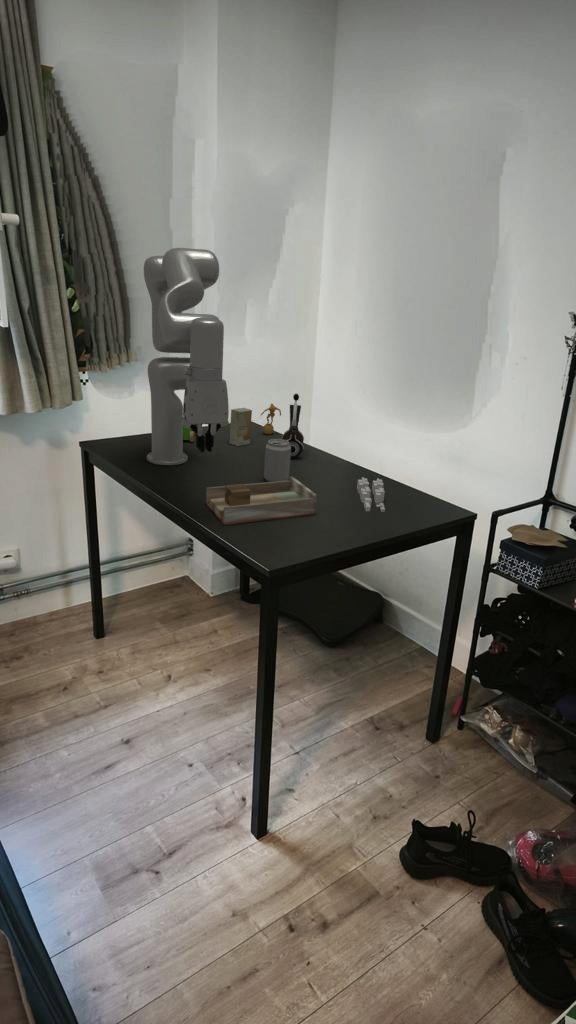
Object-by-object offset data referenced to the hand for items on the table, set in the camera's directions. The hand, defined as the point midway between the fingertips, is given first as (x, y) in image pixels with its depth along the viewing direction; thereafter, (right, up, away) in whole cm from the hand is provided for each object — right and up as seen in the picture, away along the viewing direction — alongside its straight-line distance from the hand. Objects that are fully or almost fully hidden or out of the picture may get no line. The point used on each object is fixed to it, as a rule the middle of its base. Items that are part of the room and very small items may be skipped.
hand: (204, 450), depth 153 cm
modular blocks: (+44, -12, +25) cm, 52 cm away
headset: (+21, +4, +61) cm, 65 cm away
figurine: (+13, +13, +81) cm, 83 cm away
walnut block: (+7, -13, +9) cm, 17 cm away
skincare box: (+3, +9, +68) cm, 68 cm away
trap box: (+13, -14, +13) cm, 23 cm away
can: (+17, -6, +35) cm, 39 cm away
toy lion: (-15, +11, +72) cm, 74 cm away
